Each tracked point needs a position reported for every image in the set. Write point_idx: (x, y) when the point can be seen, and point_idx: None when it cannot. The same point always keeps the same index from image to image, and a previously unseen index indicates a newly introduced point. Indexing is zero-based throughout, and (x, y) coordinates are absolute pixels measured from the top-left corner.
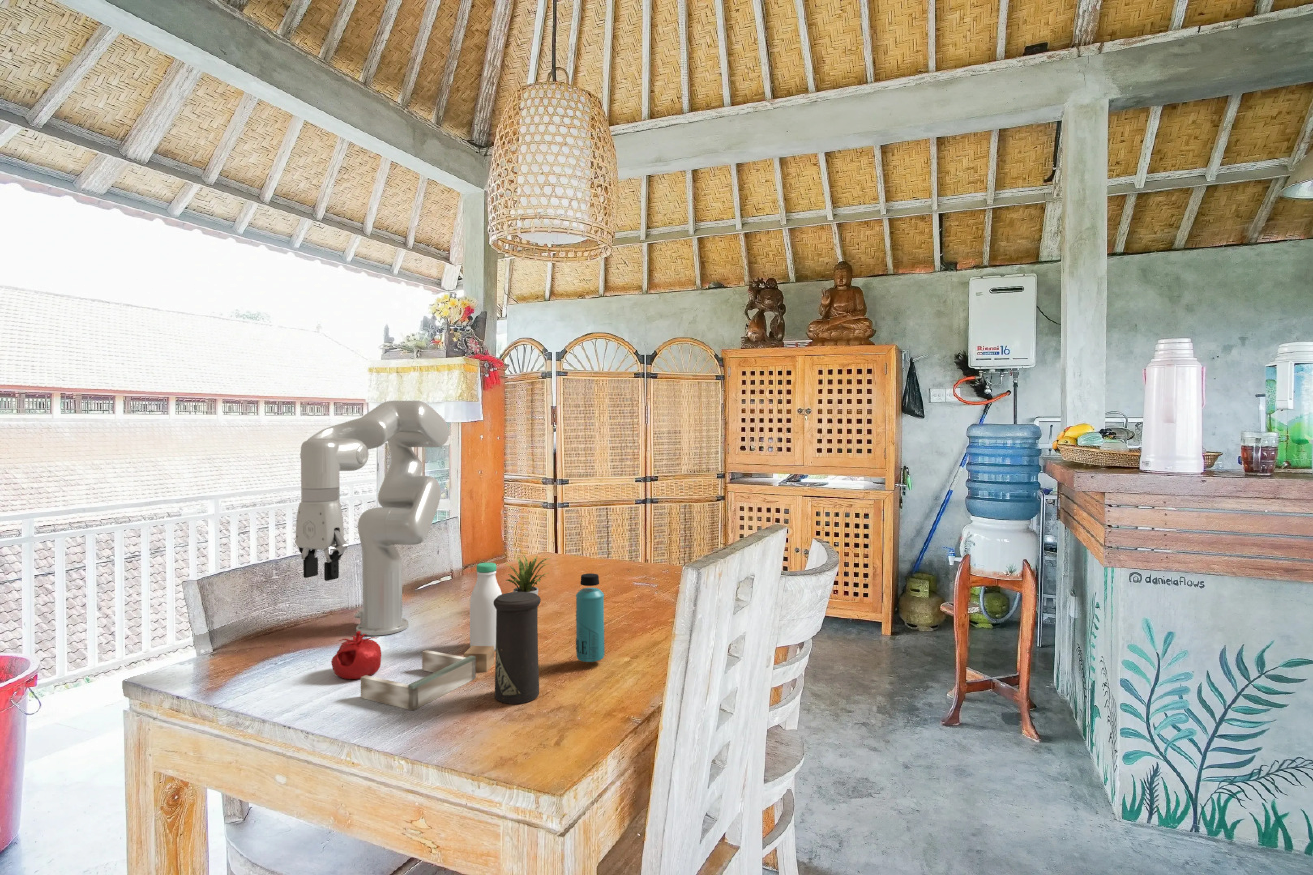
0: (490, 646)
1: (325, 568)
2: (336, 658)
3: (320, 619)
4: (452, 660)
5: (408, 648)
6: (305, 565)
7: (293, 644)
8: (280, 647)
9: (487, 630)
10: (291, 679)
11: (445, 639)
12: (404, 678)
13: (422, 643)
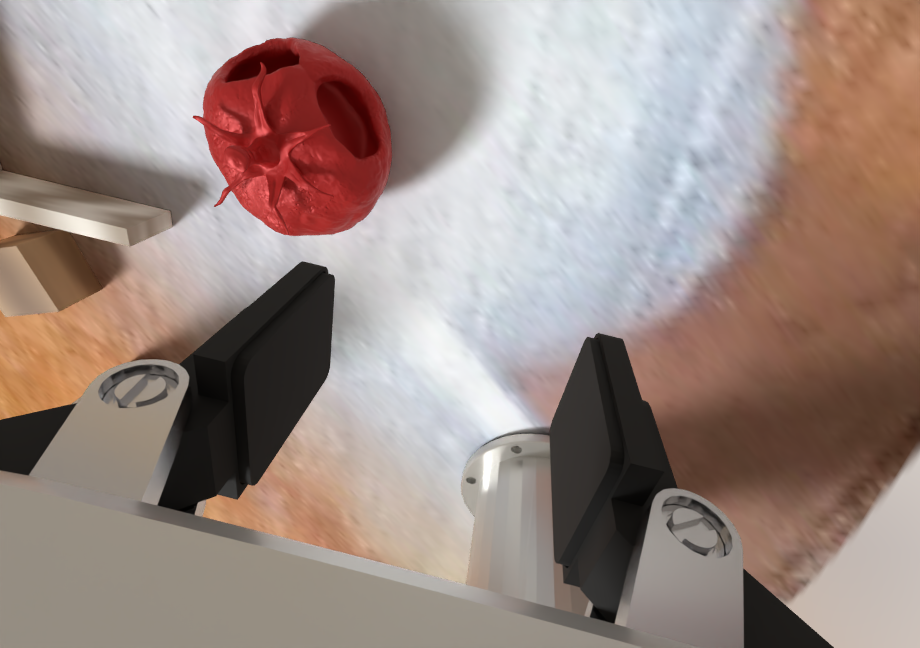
0: (11, 313)
1: (248, 315)
2: (302, 47)
3: (789, 540)
4: (7, 194)
5: (346, 360)
6: (612, 412)
7: (748, 344)
8: (783, 312)
9: (80, 397)
10: (516, 15)
11: (305, 430)
12: (158, 134)
13: (339, 398)
